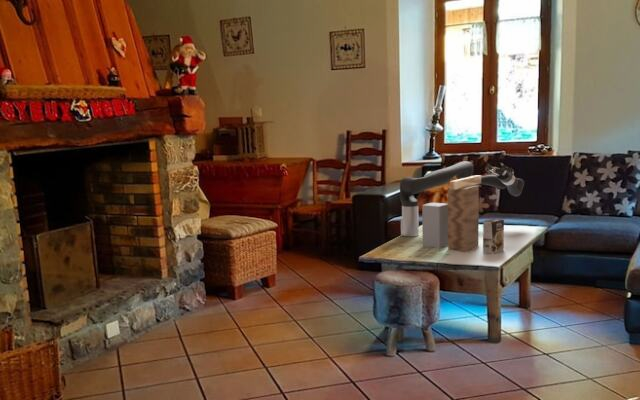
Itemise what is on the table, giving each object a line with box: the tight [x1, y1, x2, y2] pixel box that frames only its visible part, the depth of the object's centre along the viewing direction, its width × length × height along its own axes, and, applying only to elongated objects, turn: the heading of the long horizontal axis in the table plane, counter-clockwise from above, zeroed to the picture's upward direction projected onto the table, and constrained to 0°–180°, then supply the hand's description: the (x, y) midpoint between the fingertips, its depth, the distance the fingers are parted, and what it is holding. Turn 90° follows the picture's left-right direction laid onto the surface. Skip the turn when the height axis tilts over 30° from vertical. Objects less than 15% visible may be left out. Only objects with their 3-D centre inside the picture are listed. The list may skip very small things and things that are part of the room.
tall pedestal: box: [447, 184, 480, 253], centre depth 314 cm, size 10×14×32 cm
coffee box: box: [482, 218, 505, 255], centre depth 306 cm, size 9×6×16 cm
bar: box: [449, 174, 482, 190], centre depth 314 cm, size 3×28×4 cm, turn 140°
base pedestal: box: [421, 202, 448, 249], centre depth 323 cm, size 10×10×22 cm
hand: (495, 165), depth 338 cm, fingers open, 8 cm apart
